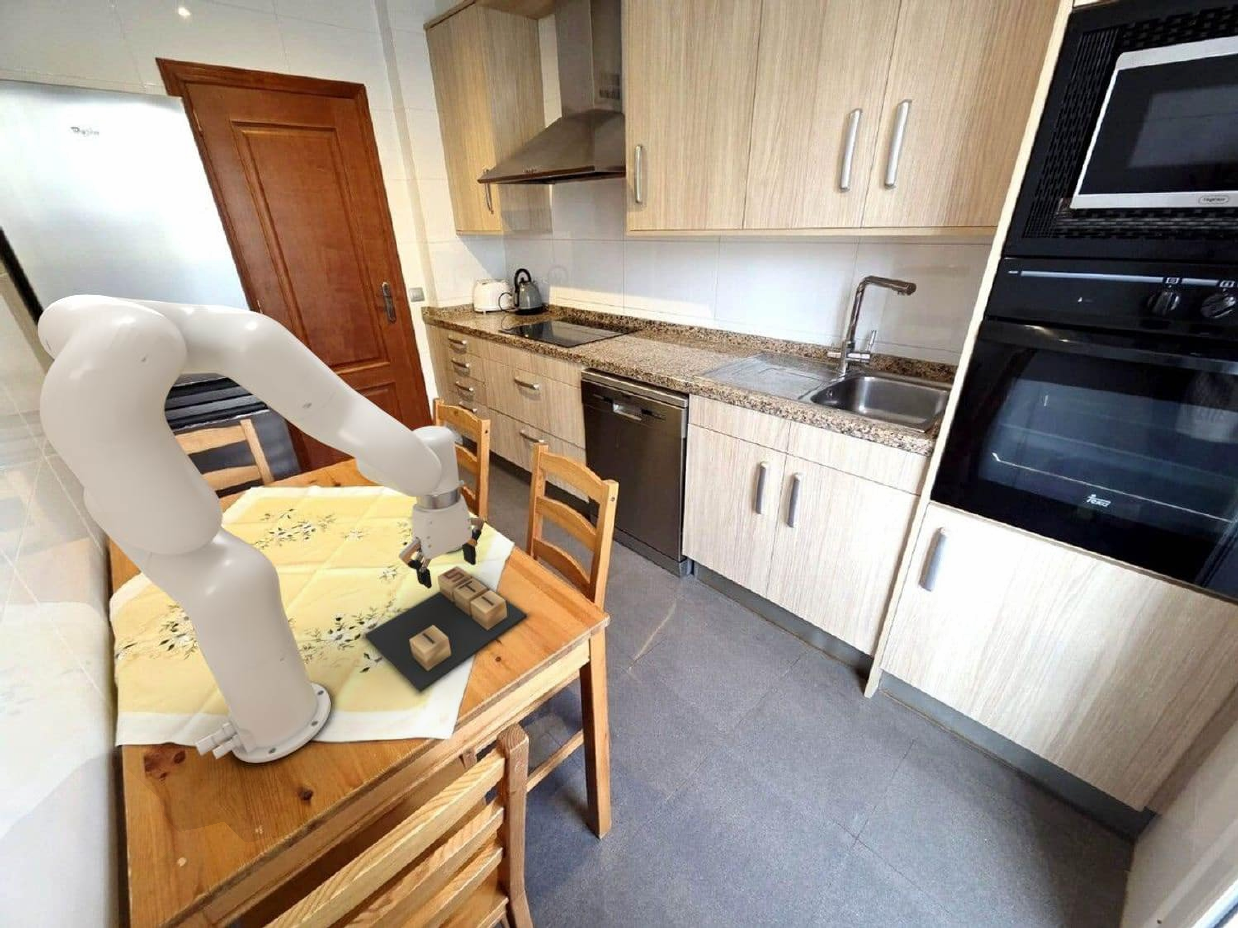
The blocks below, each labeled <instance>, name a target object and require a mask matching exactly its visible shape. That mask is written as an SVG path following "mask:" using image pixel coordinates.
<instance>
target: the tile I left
mask: <svg viewBox="0 0 1238 928" xmlns="http://www.w3.org/2000/svg"><path fill="white" fill-rule="evenodd" d="M409 641H410V645H411V650H412V654H413V657H414V658H415V659H416V660H417V661H418V662H419V663H420V664H421V665H422V666H423V667H424V668H425V669H426V670H427V671H428V670H430V669H431V668H433V667H434V666H436V665H437V664H439V663H440V662H442V661H443V660H444V659H446V658H447V657H449V656H450V655H451V650H450V645H449V639H448V637H447V636H446V635H445V634H443V633H442V632H441V631H440V630H439V629H438V628H436V627H435V626H434V625H432V626H431V627H429V628H427V629H426V630H424V631H423V632H421V633H419V634H418V635H416V636H415V637H413V638H411V639H410V640H409Z"/></svg>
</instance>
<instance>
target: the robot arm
mask: <svg viewBox="0 0 1238 928" xmlns="http://www.w3.org/2000/svg"><path fill="white" fill-rule="evenodd" d="M37 335H38V338H39V342H40V344H41V346H42V347H43V349H44V351H45V352H46V353H47V354H48V355H50V357H51V358H52V359H53V360H54V361H53V362H52V364H51V365H50V367H49V369H48V371H47V373H46V375H45V377H44V381H43V383H42V387H41V390H40V391H41V392H40V398H39V405H38V406H39V419H40V424H41V427H42V430H43V433H44V434H45V436H46V438H47V440H48V441H49V443H50V445H51V446H52V448H53V449H54V451H55V452H56V453H57V454H58V455H59V457H60V458H61V460H62V461H63V462H64V463H65V465H66V466H67V467H68V468H69V469H70V471H71V472H72V473H73V475H74V476H75V477H76V479H77V480H78V481H79V483H80V484H81V485H82V487H83V501H84V505H85V509H86V510H87V513H89V515H90V516H91V518H92V519H93V520H94V522H95V523H96V524H97V525H98V526H99V527H100V528H101V529H102V530H103V532H104V533H105V534H106V535H107V536H108V538H110V539H111V540H112V542H114V544H115V545H116V546H117V547H118V548H119V550H121V551H122V552H123V553H124V555H125V556H126V557H127V558H128V559H129V560H130V561H131V562H132V563H133V564H134V566H135V567H136V568H137V569H138V570H139V571H141V573H142V574H143V575H144V576H145V577H146V578H147V579H148V580H149V582H151V583H152V584H153V585H155V586H156V587H157V588H158V589H159V590H161V591H162V592H163V593H164V594H166V596H167V597H169V598H170V599H171V600H172V601H173V602H174V603H176V605H178V606H179V607H180V608H181V609H182V610H183V612H184V613H185V615H186V616H187V618H188V620H189V621H190V623H191V626H192V629H193V632H194V637H195V640H196V643H197V646H198V648H199V651H200V653H201V656H202V658H203V659H204V662H205V664H206V665H207V668H208V669H209V671H210V673H211V675H212V677H213V679H214V681H215V684H216V685H217V688H218V689H219V692H220V694H221V697H222V698H223V700H224V702H225V704H226V707H227V708H228V710H229V712H227V718H228V719H229V720H228V721H227V722H224V723H223V724H221V726H222V728H220V729H219V730H217V731H215V732H213V733H212V734H209V735H207V736H205V737H203V738H202V739H200V740H198V741H196V742H194V745H195V748H196V749H197V751H198V754H199V756H200V757H203V756H204V755H205V754H207V753H209V752H212V754H213V756H214V757H215V759H216V760H218V759H220V758H221V757H223V756H225V755H226V754H228V753H229V752H230V751H232V753H233V754H234V756H235V757H236V758H238V760H241V761H244V762H247V763H254V764H256V763H266V762H271V761H275V760H278V759H280V758H283V757H285V756H287V755H289V754H291V753H293V752H295V751H297V750H298V749H300V748H301V747H303V746H304V745H306V744H307V743H308V742H309V741H311V740H312V739H313V738H314V737H315V736H316V735H317V733H318V732H319V731H321V729H322V727H323V726H324V725H325V723H326V722H327V719H328V718H329V715H330V713H331V707H332V706H331V705H332V702H331V699H330V695H329V693H328V691H327V690H326V689H325V688H324V687H323V686H322V685H320V684H318V683H314V682H311V679H310V676H309V674H308V671H307V667H306V665H305V662H304V660H303V657H302V654H301V652H300V648H299V646H298V644H297V641H296V638H295V635H294V632H293V630H292V627H291V624H290V621H289V619H288V616H287V614H286V609H285V607H284V603H283V598H282V593H281V592H282V591H281V583H280V577H279V574H278V571H277V568H276V567H275V565H274V564H273V562H272V561H271V560H270V558H269V557H268V556H267V555H265V553H264V552H262V551H261V549H258V548H257V547H256V546H254V545H253V544H251V543H250V542H248V541H246V540H244V539H242V538H241V537H239V536H237V535H235V534H233V533H232V532H230V531H228V530H227V529H225V528H224V527H223V526H222V525H223V519H224V513H223V511H224V510H223V506H222V503H221V500H220V498H219V496H218V494H217V493H216V491H215V490H214V488H213V487H212V485H210V483H209V482H208V481H207V480H206V478H205V477H204V476H203V475H202V473H201V472H200V471H199V469H198V468H197V466H196V465H195V463H194V462H193V461H192V459H191V458H190V457H189V455H188V454H187V452H186V451H185V450H184V448H183V446H182V445H181V444H180V442H179V440H178V439H177V437H176V436H175V433H174V432H173V430H172V429H171V426H170V425H169V423H168V420H167V418H166V417H167V416H166V414H165V413H166V412H165V405H166V402H167V398H168V395H169V393H170V390H171V389H172V387H173V385H174V384H175V383H176V382H177V380H178V378H179V377H180V376H181V375H190V374H192V375H193V374H215V375H217V374H218V375H220V376H222V377H227V378H228V379H230V380H232V381H233V382H235V383H236V384H238V385H239V386H241V387H242V388H243V389H245V390H246V391H248V393H250V394H252V396H254V397H255V398H256V399H258V400H260V401H262V402H263V403H264V404H265V405H267V406H268V407H270V408H271V409H272V410H274V411H275V412H277V413H278V414H279V415H280V416H282V417H283V418H284V419H285V420H287V421H288V422H290V423H291V424H292V425H293V426H295V427H296V428H298V429H299V430H300V431H302V432H303V433H304V434H306V435H308V436H310V437H311V438H313V439H315V440H316V441H318V442H320V443H322V444H324V445H326V446H329V447H331V448H333V449H335V450H338V451H340V452H342V453H345V454H347V455H348V456H351V457H353V458H355V466H356V469H357V471H358V472H359V474H360V475H361V476H362V477H363V478H365V479H367V481H370V482H372V483H375V484H377V485H379V486H383V487H384V488H388V489H391V490H392V491H396V492H398V493H400V494H402V495H405V496H407V497H410V498H415V501H416V503H415V504H413V505H412V509H411V521H410V522H411V526H410V527H411V538H412V539H411V540H412V541H411V542H410V543H409V544H408V545H407V546H405V548H404V549H403V550H401V551H400V553H399V554H398V558H399V559H400V560H401V561H402V562H403V563H404V564H405V565H406V566H408V567H409V568H410V569H413V570H415V572H416V578H417V582H418V583H419V584H420V585H422V586H424V587H425V588H427V589H428V590H429V589H431V588H432V587H433V584H432V576H431V570H430V569H429V568H428V567H429V565H430V563H431V561H432V560H433V559H436V558H438V557H440V556H442V555H445V554H447V553H450V552H449V551H451V550H453V549H455V548H457V547H459V546H461V545H462V547H461V548H462V555H463V560H464V561H465V562H467V563H468V564H469V565H471V566H475V565H477V560H476V559H477V551H476V550H477V549H476V547H477V546H478V544H479V543H478V542H479V541H478V540H479V539H480V538H481V536H482V533H483V532H482V530H483V528H484V525H485V520H484V519H482V518H480V517H471V516H470V511H469V508H468V504H467V502H466V499H465V497H464V494H462V488H464V487H465V486H466V481H465V480H464V479H461V480H460V478H459V477H460V475H459V468H458V460H457V459H458V458H457V451H456V449H457V448H456V442H455V435H454V433H453V431H452V430H451V429H450V428H447V427H445V426H443V425H441V426H440V425H427V426H421V427H419V428H416V429H414V430H411V429H409V427H407V426H406V425H404V424H403V423H401V422H400V421H399V420H397V419H396V418H394V417H393V416H391V415H390V414H388V413H387V412H385V411H384V410H383V409H381V408H380V407H379V406H378V405H376V404H375V403H373V401H371V400H369V399H368V398H366V397H365V396H364V395H362V394H361V393H359V392H358V391H356V390H355V389H353V388H352V387H351V386H350V384H348V383H347V382H345V381H344V380H343V379H342V378H341V377H340V376H338V374H337V373H336V372H334V370H332V369H331V368H330V367H329V366H328V365H327V364H325V362H323V361H322V360H321V359H320V358H319V357H318V356H317V355H316V354H315V353H313V351H312V350H310V348H308V347H307V346H306V345H305V344H304V343H302V341H300V340H299V338H297V337H296V336H295V335H294V334H293V333H292V332H290V330H288V328H286V327H285V326H284V325H282V324H281V323H280V322H278V321H277V320H275V319H273V318H271V317H270V316H268V315H266V314H262V313H259V312H257V311H251V310H247V309H241V308H235V307H229V306H223V305H212V304H211V305H209V304H192V303H179V302H178V303H177V302H167V301H158V300H157V301H156V300H148V299H139V298H137V299H136V298H127V297H117V296H107V295H95V294H79V295H71V296H67V297H64V298H61V299H59V300H57V301H55V302H53V303H51V304H50V305H48V307H46V308H45V309H44V310H43V312H42V314H41V315H40V316H39V319H38V322H37ZM472 526H473V527H472ZM415 553H416V555H415V557H414V559H413V558H412V556H413V555H414V554H415ZM224 742H225V743H224Z"/></svg>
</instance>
